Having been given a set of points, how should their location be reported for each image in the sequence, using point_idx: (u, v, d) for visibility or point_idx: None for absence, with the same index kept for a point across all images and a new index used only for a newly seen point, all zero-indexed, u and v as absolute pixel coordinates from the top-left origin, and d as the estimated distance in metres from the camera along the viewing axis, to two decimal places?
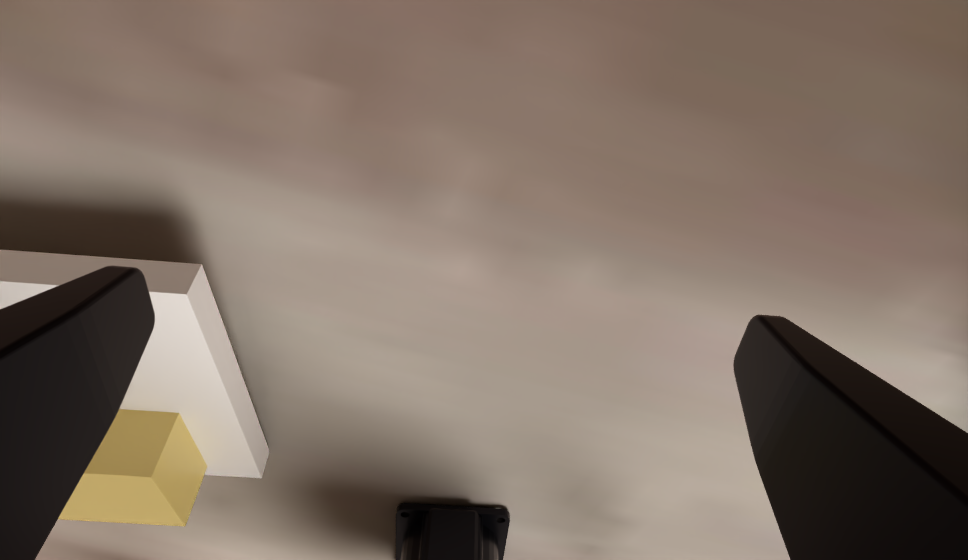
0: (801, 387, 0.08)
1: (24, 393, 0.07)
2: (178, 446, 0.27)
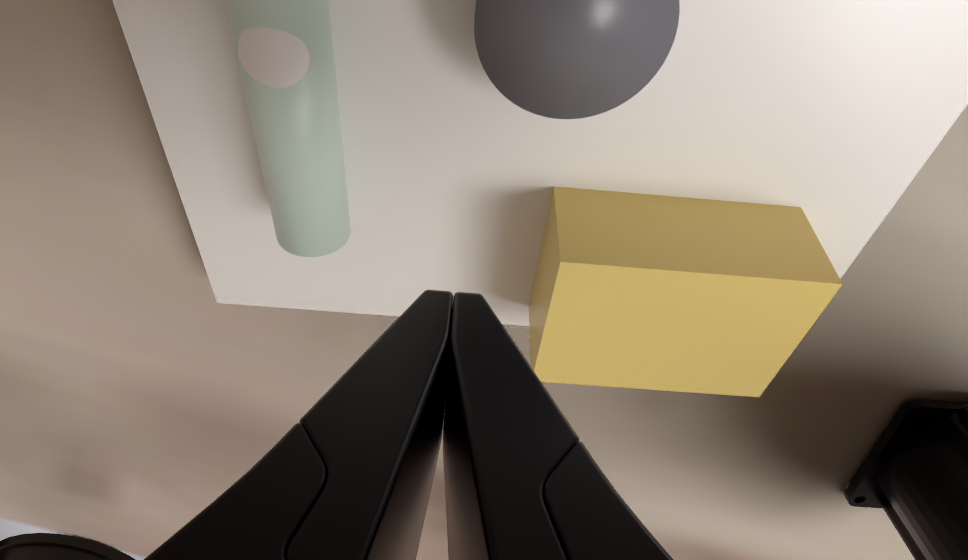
0: (449, 362, 0.07)
1: (430, 420, 0.07)
2: None
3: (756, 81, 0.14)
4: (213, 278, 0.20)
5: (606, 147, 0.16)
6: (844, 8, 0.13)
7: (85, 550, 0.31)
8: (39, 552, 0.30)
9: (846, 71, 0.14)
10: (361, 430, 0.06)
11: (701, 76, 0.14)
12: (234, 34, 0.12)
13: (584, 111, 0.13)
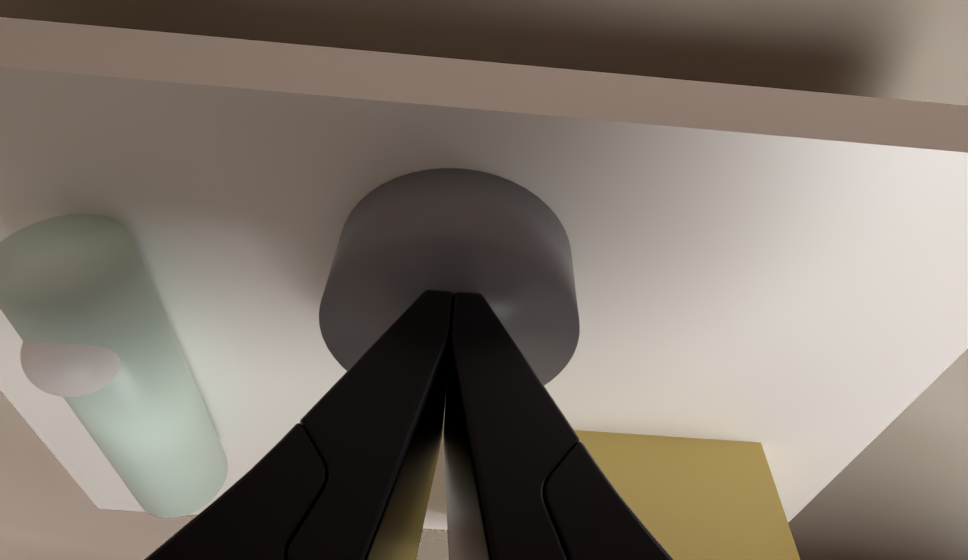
0: (449, 362, 0.07)
1: (430, 420, 0.07)
2: None
3: (696, 339, 0.12)
4: (88, 490, 0.17)
5: None
6: (798, 278, 0.10)
7: None
8: None
9: (804, 331, 0.11)
10: (361, 430, 0.06)
11: (628, 334, 0.12)
12: None
13: None
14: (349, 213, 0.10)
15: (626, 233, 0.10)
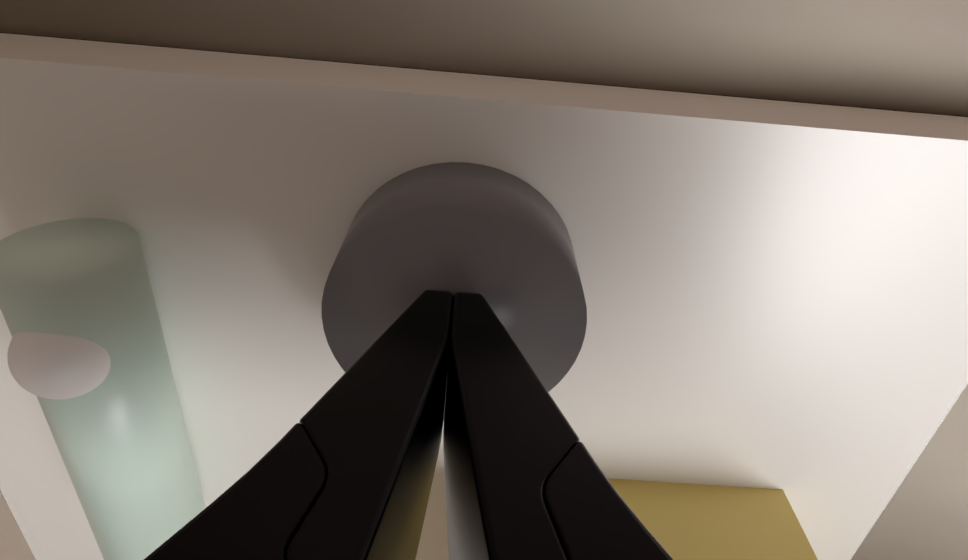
0: (449, 362, 0.07)
1: (430, 420, 0.07)
2: None
3: (704, 357, 0.11)
4: None
5: None
6: (800, 281, 0.10)
7: None
8: None
9: (814, 346, 0.11)
10: (361, 430, 0.06)
11: (635, 352, 0.11)
12: (11, 333, 0.09)
13: None
14: (355, 213, 0.10)
15: (627, 232, 0.10)
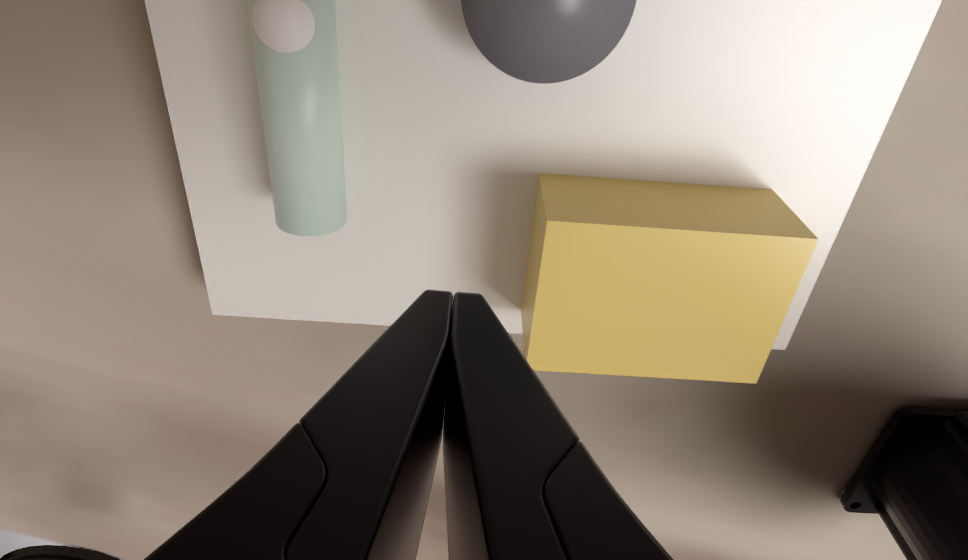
0: (449, 362, 0.07)
1: (430, 420, 0.07)
2: None
3: (715, 60, 0.16)
4: (210, 285, 0.20)
5: (585, 130, 0.17)
6: None
7: None
8: None
9: (793, 49, 0.16)
10: (361, 430, 0.06)
11: (665, 56, 0.16)
12: (249, 6, 0.14)
13: (561, 75, 0.15)
14: None
15: None
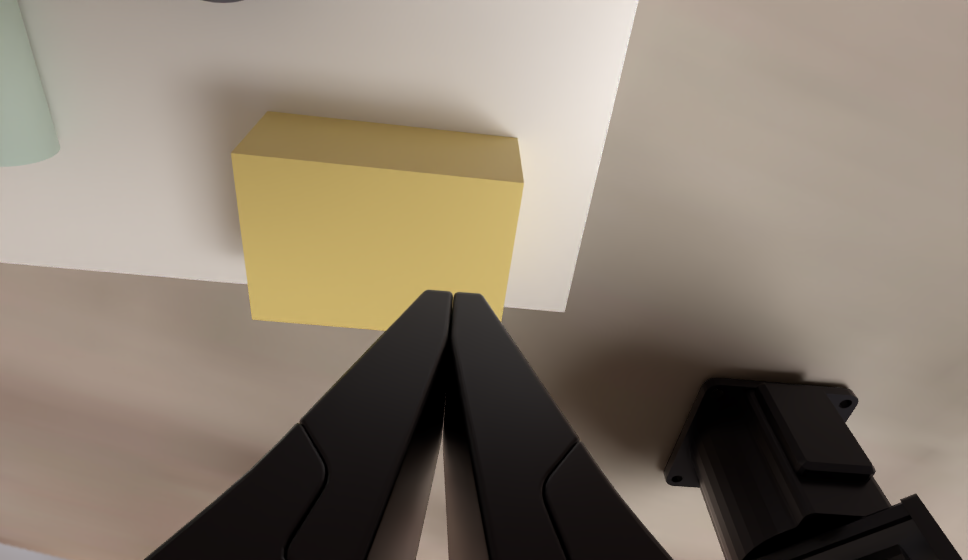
0: (450, 362, 0.07)
1: (430, 420, 0.07)
2: None
3: None
4: None
5: (307, 65, 0.16)
6: None
7: None
8: None
9: None
10: (361, 430, 0.06)
11: None
12: None
13: None
14: None
15: None
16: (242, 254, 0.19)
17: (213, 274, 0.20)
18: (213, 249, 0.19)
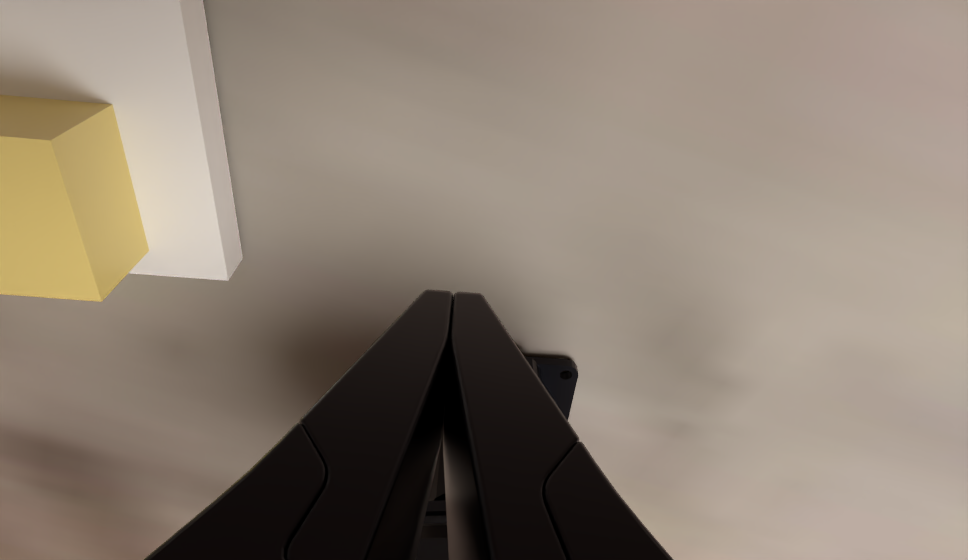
0: (449, 362, 0.07)
1: (430, 420, 0.07)
2: (105, 156, 0.18)
3: None
4: None
5: None
6: None
7: None
8: None
9: None
10: (361, 430, 0.06)
11: None
12: None
13: None
14: None
15: None
16: None
17: None
18: None
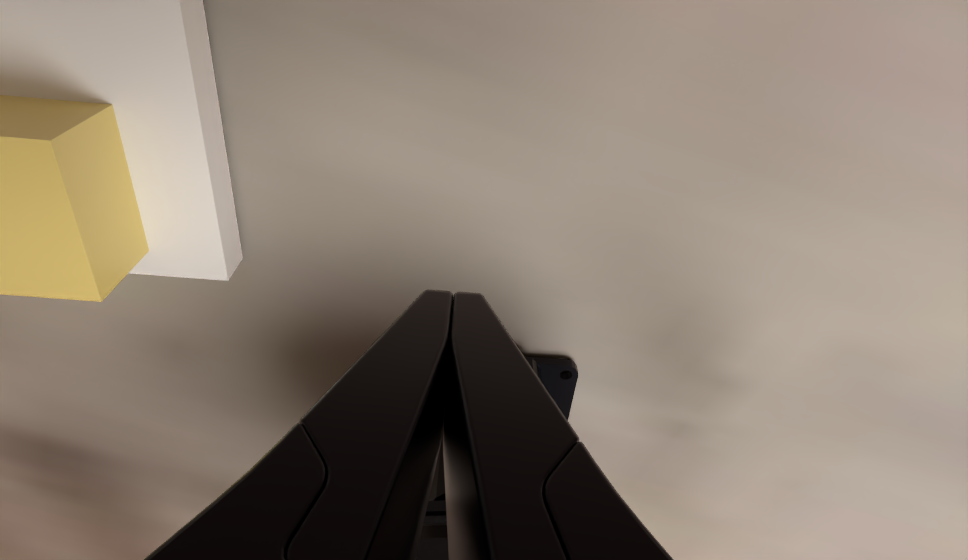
0: (449, 362, 0.07)
1: (430, 420, 0.07)
2: (105, 156, 0.18)
3: None
4: None
5: None
6: None
7: None
8: None
9: None
10: (361, 430, 0.06)
11: None
12: None
13: None
14: None
15: None
16: None
17: None
18: None
